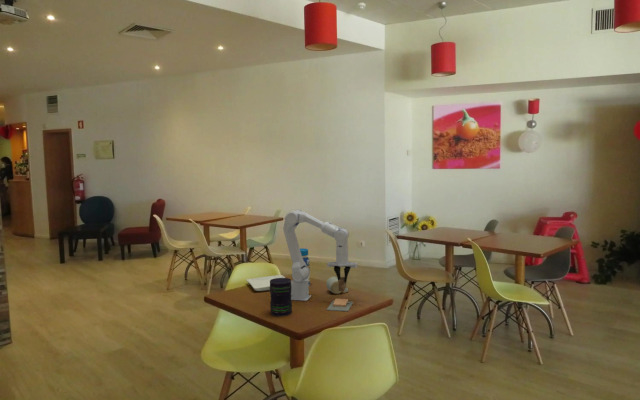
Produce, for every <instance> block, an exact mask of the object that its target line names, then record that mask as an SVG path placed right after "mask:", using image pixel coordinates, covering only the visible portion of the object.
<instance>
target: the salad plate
mask: <svg viewBox="0 0 640 400" xmlns="http://www.w3.org/2000/svg"><path fill="white" fill-rule="evenodd" d="M275 278H286V277H285V276H284V275H283V274H278V275H277V274H276V275H267V276H259V277H253V278H246V280H245V281H246V282H247V283H248V284H249V285H250V286H251V287H252V288H253V290H254V291H255V292H265V291H270V280H271V279H275Z"/></svg>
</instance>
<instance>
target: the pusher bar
mask: <svg viewBox="0 0 640 400" xmlns="http://www.w3.org/2000/svg"><path fill="white" fill-rule="evenodd" d="M340 277H341V278H340V279H339V291H342V292H344V290H345V288H347V282H345V281H344V279H345V276H340Z"/></svg>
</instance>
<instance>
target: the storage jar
mask: <svg viewBox="0 0 640 400" xmlns="http://www.w3.org/2000/svg"><path fill="white" fill-rule="evenodd" d="M291 281H292V279H291V278H288V277H285V278H275V279H271V280H270V290H269V293H270V302H269V304H270V305H269V308H270V315H271V316H273V317H286V316H290V315H292V313H293V300H291V291H292V290H291V288H292V286H291Z"/></svg>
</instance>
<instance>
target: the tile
mask: <svg viewBox="0 0 640 400" xmlns="http://www.w3.org/2000/svg"><path fill="white" fill-rule="evenodd" d="M348 301H349V299H348V298H335V299H334V303H333V307H346V305H347V302H348Z"/></svg>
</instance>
